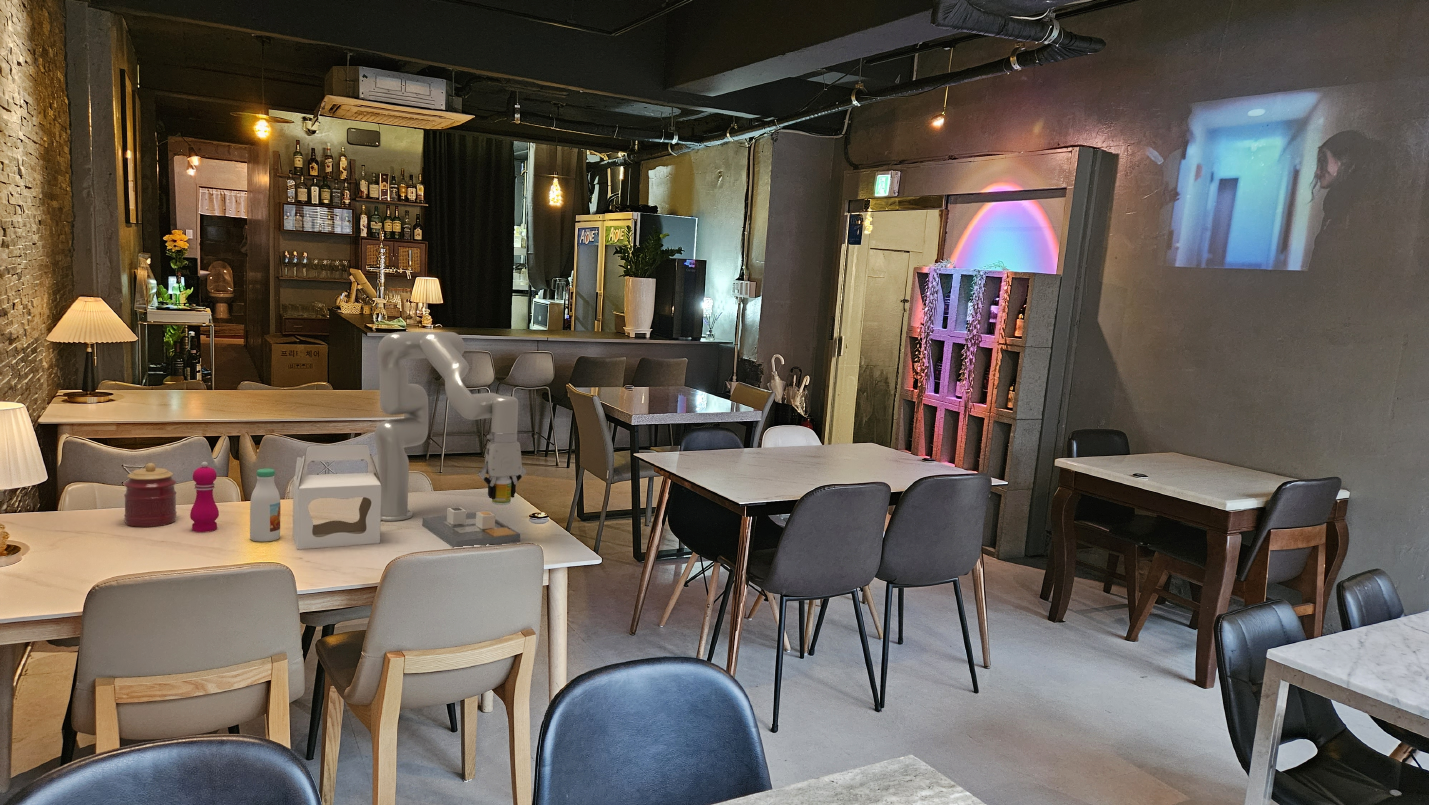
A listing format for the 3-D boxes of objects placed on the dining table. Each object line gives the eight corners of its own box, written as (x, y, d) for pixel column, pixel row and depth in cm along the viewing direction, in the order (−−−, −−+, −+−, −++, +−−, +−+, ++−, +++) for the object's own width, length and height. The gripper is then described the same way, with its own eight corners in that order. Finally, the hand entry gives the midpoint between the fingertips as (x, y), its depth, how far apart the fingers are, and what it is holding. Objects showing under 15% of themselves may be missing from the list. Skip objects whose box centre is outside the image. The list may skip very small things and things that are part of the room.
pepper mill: (224, 528, 258) (225, 461, 256) (203, 534, 251) (203, 465, 249) (205, 524, 260) (206, 458, 258) (184, 530, 254) (184, 462, 251)
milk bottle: (259, 544, 246) (260, 473, 244) (244, 538, 250) (244, 469, 248) (285, 538, 253) (286, 470, 250) (270, 533, 257) (270, 466, 254)
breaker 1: (452, 524, 269) (453, 511, 268) (446, 520, 272) (447, 507, 272) (465, 523, 271) (466, 510, 270) (459, 519, 275) (459, 506, 274)
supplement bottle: (509, 505, 262) (510, 473, 261) (490, 504, 261) (491, 472, 260) (511, 501, 267) (513, 470, 266) (493, 500, 267) (494, 469, 265)
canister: (182, 523, 260) (182, 465, 258) (131, 530, 250) (131, 469, 248) (168, 514, 269) (168, 457, 267) (118, 520, 259) (118, 461, 257)
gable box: (373, 531, 266) (375, 440, 263) (381, 543, 255) (383, 448, 251) (291, 537, 254) (293, 441, 251) (296, 550, 243) (297, 450, 240)
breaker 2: (482, 529, 266) (482, 515, 265) (475, 525, 270) (476, 511, 269) (494, 527, 268) (495, 514, 268) (488, 523, 272) (488, 510, 272)
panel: (455, 549, 254) (455, 540, 253) (422, 525, 276) (422, 516, 275) (520, 541, 266) (520, 532, 266) (483, 519, 288) (483, 511, 287)
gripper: (481, 441, 254) (479, 502, 256) (536, 438, 264) (533, 497, 266) (471, 437, 260) (469, 497, 262) (525, 434, 270) (522, 492, 272)
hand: (501, 496), depth 264 cm, fingers closed on supplement bottle, 5 cm apart
